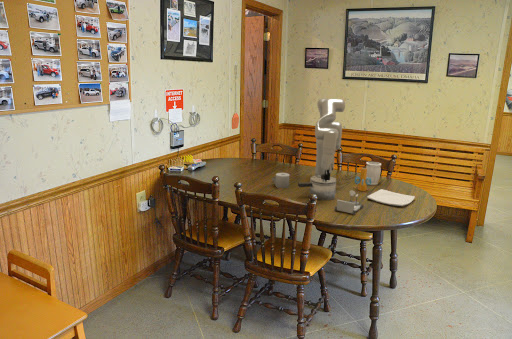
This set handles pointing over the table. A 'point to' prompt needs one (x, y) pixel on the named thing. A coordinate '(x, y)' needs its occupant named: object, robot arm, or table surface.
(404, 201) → the plate
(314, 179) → the lid
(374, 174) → the jar
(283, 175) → the toilet tissue
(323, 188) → the pot
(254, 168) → the table surface
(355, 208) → the toy car
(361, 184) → the orange blue upright piece
